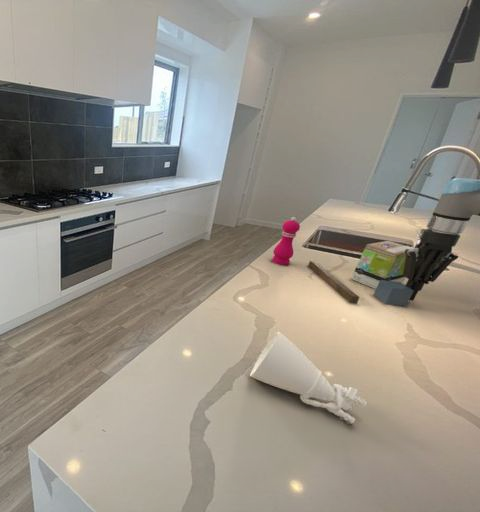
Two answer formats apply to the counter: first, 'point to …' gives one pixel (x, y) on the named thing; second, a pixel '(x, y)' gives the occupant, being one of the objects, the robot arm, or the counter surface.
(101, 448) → the counter surface
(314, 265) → the brown wooden stick
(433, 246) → the robot arm
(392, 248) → the tea box
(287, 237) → the pepper mill
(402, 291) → the blue block
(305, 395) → the rocket engine
